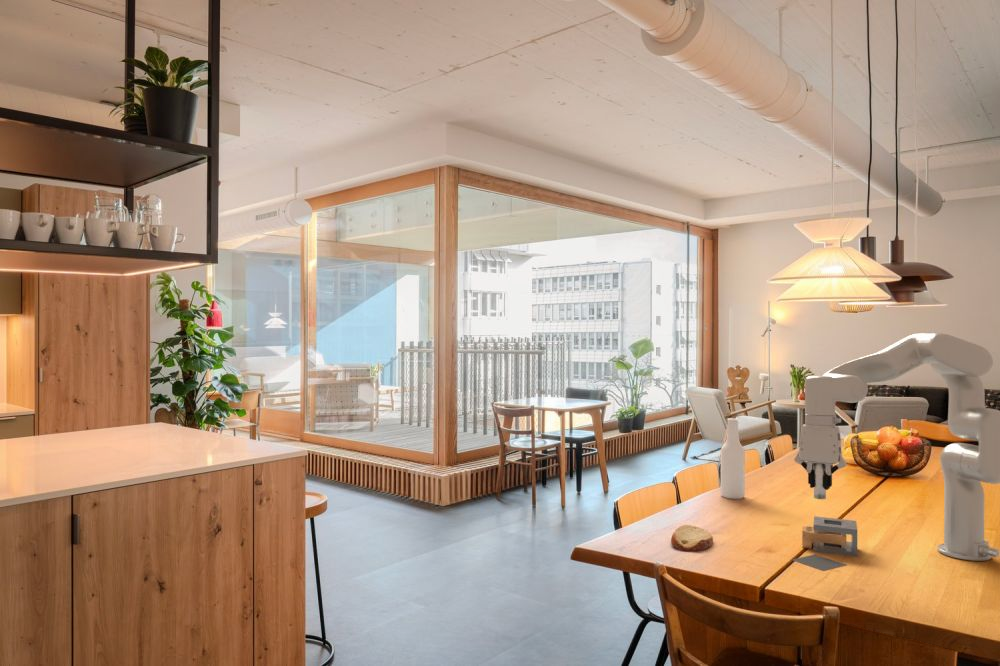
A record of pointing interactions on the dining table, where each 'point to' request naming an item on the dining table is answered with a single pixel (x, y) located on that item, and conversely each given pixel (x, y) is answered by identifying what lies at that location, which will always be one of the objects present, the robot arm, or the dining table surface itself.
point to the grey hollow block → (831, 536)
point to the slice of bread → (691, 538)
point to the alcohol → (732, 463)
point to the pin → (819, 480)
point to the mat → (819, 562)
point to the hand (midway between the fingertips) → (819, 487)
